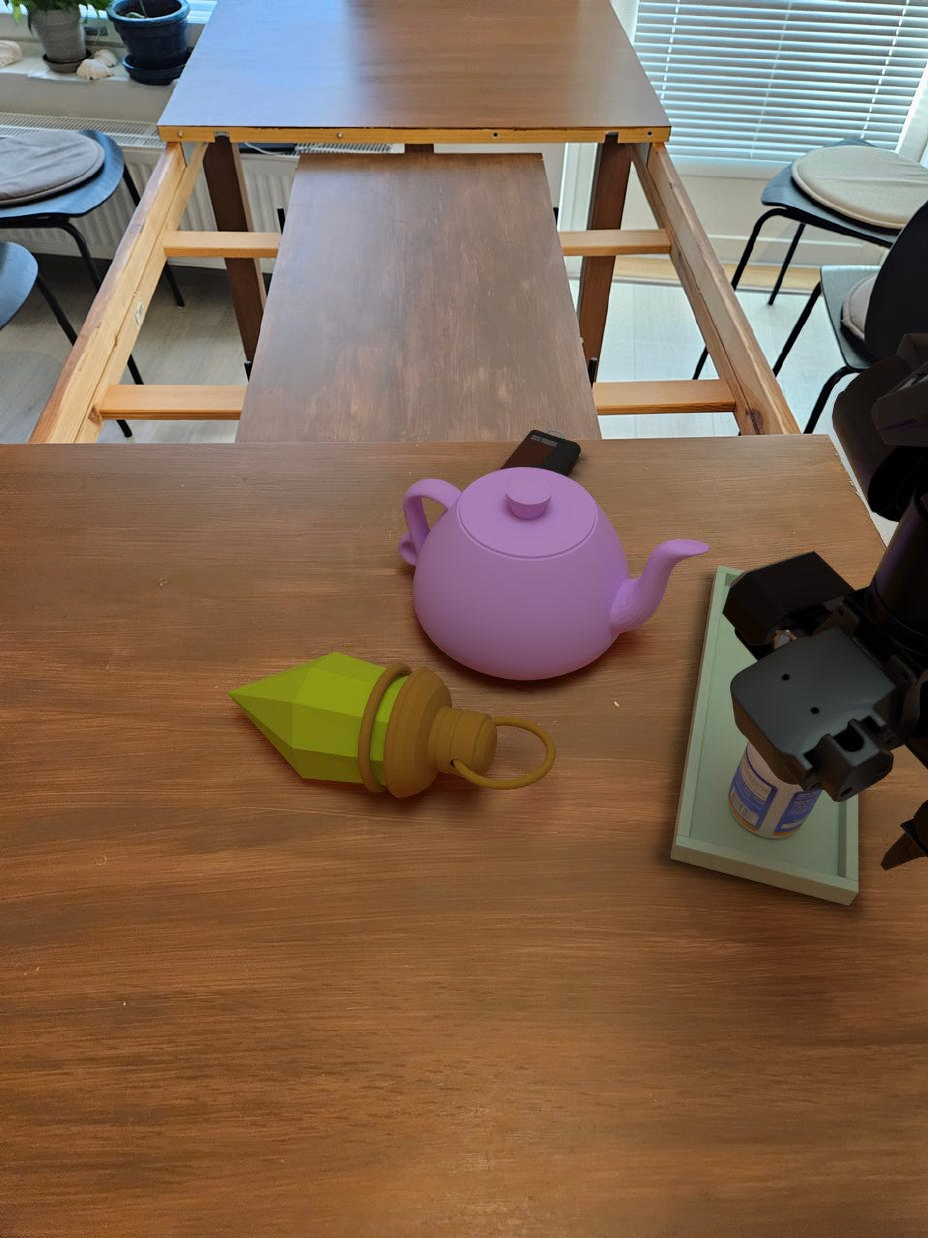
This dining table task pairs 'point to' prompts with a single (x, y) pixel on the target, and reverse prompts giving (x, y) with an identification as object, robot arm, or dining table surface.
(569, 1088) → the dining table surface
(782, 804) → the pill bottle
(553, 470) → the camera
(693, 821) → the tray
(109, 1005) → the dining table surface
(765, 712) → the robot arm
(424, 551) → the teapot
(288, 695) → the plumb bob
